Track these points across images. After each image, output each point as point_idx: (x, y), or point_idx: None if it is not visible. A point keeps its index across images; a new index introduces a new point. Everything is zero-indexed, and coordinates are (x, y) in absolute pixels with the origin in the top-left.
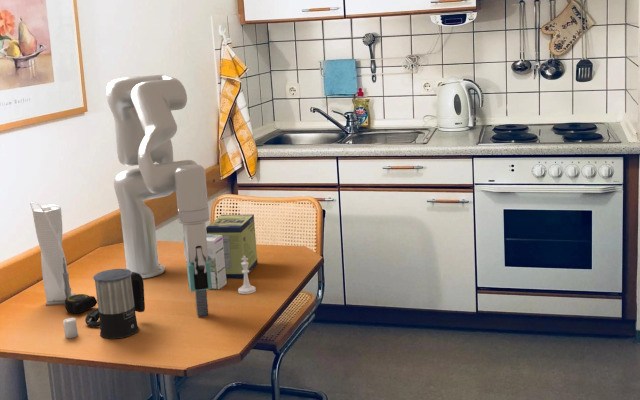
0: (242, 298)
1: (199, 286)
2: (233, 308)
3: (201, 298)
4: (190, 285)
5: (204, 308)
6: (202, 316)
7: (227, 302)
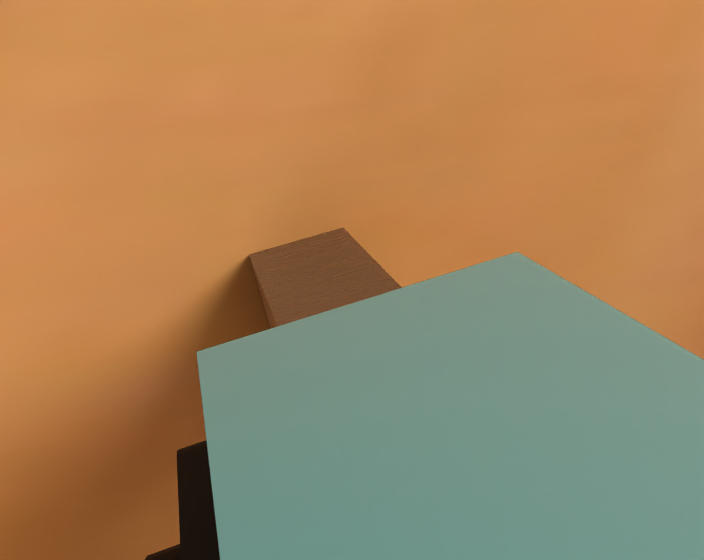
0: None
1: (151, 558)
2: None
3: None
4: (220, 399)
5: None
6: (260, 292)
7: None
